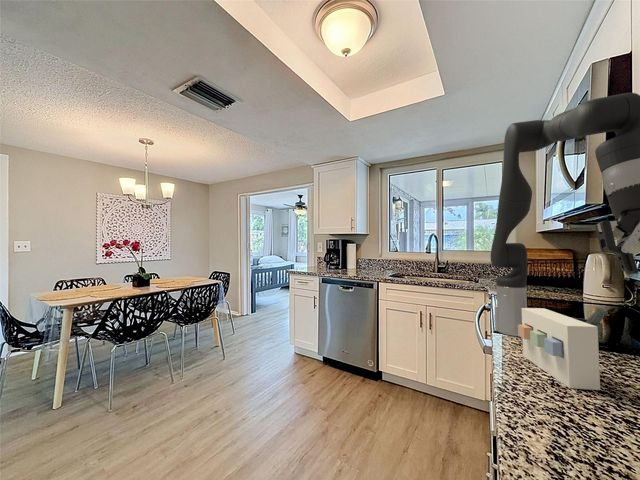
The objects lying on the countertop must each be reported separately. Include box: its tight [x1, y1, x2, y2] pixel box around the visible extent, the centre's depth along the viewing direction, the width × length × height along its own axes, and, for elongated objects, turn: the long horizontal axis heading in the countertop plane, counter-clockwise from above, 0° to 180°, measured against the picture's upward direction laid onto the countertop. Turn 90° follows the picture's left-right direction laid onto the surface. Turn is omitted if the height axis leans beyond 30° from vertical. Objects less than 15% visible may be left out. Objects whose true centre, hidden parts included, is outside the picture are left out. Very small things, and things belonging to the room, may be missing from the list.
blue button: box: [544, 338, 563, 356], centre depth 67 cm, size 2×3×3 cm, turn 170°
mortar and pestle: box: [573, 307, 609, 338], centre depth 92 cm, size 11×9×12 cm
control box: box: [522, 307, 601, 391], centre depth 72 cm, size 6×19×14 cm, turn 171°
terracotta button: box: [517, 325, 532, 340], centre depth 79 cm, size 2×3×3 cm, turn 171°
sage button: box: [530, 331, 546, 347], centre depth 73 cm, size 2×3×3 cm, turn 171°
